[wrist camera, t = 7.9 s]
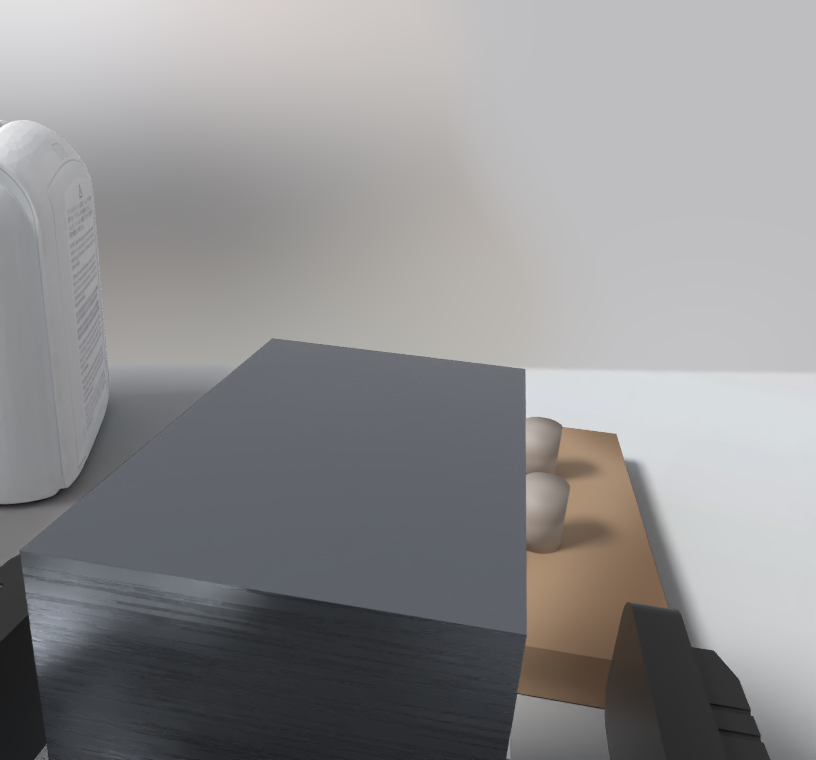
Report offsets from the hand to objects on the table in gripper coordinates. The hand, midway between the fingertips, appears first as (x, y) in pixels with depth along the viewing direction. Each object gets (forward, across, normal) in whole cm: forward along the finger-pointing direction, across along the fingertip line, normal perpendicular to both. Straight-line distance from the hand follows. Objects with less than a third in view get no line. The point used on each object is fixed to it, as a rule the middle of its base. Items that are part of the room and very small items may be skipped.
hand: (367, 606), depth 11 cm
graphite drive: (-2, 0, -6) cm, 6 cm away
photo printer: (+14, -16, -6) cm, 22 cm away
